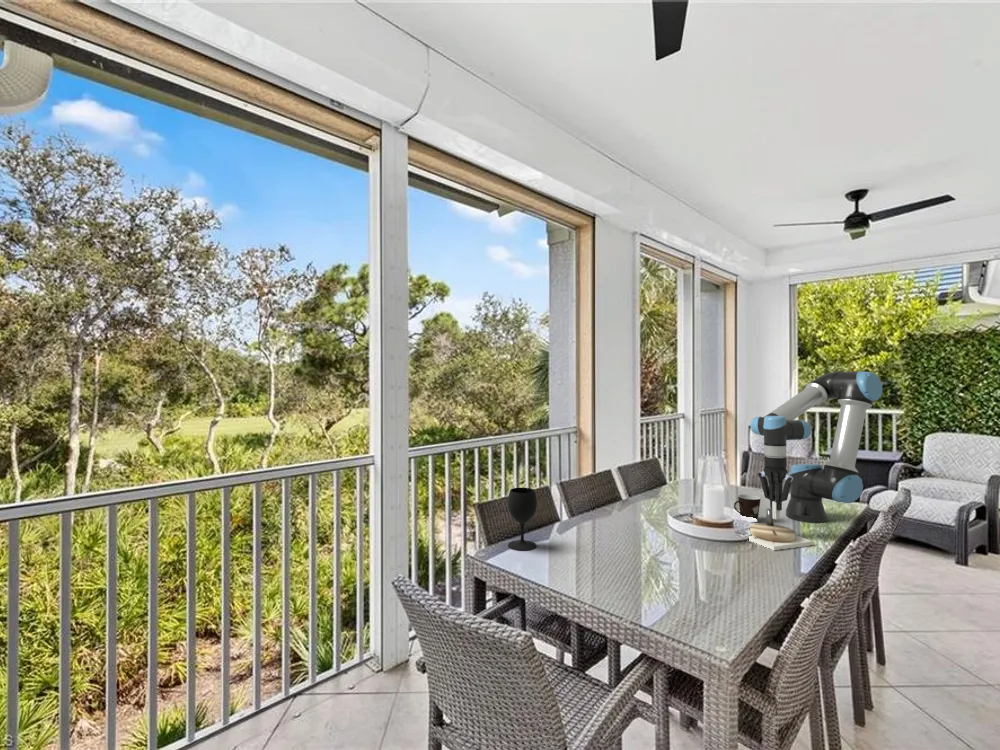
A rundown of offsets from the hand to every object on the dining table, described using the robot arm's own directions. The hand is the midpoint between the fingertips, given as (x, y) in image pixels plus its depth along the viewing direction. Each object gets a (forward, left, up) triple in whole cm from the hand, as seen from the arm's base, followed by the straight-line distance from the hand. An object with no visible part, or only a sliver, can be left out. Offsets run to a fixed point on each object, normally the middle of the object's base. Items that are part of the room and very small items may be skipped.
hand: (776, 518), depth 191 cm
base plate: (+5, +3, -7) cm, 9 cm away
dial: (+5, +3, -5) cm, 8 cm away
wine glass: (+96, -20, -7) cm, 98 cm away
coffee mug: (-5, -20, -7) cm, 22 cm away
